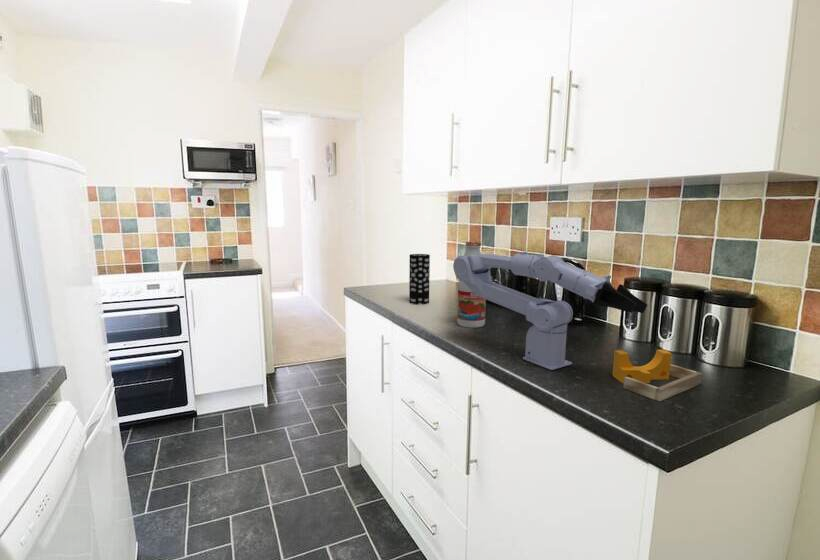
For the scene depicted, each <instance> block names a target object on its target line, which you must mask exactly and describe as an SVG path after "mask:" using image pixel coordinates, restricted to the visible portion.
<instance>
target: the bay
mask: <svg viewBox="0 0 820 560" xmlns="http://www.w3.org/2000/svg"><path fill="white" fill-rule="evenodd" d="M670 376H671V377H674V378H677V379H676V380H673V381H671V382H668V383H666V384H663V385H661V386H658V387H657V386H655V385H653V384H650V383H644V382H641V381H638V380H635V379H632V378H629V377H624V383H623V389H625V390H627V391H630V392H633V393H636V394H638V395H641V396H644V397H647V398H649V399H652V400H654V401H657V402H662V401H664V400H666V399H669V398H671V397H674V396H676V395H678V394H680V393H683V392H686V391H689V390H691V389H693V388H694V387H697V386H699V385H701V384H702V379H703V378H702V377H703V372H699V371H696V370H692V369H690V368H685V367H682V366H679V365H676V364H672V363H671V365H670V374H669V377H670Z"/></svg>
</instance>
